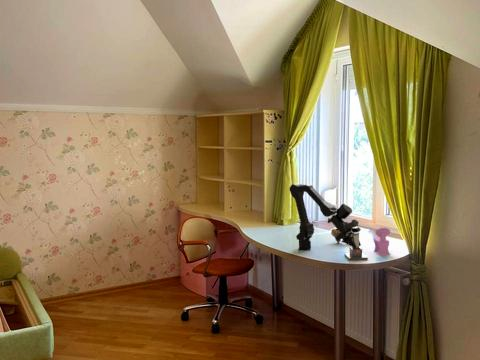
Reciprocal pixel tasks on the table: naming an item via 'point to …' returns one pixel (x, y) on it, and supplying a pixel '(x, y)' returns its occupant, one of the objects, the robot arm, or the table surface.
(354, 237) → the steel post
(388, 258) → the table surface
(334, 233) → the lion figurine
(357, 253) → the stand base
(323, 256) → the table surface
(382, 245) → the pink figurine
